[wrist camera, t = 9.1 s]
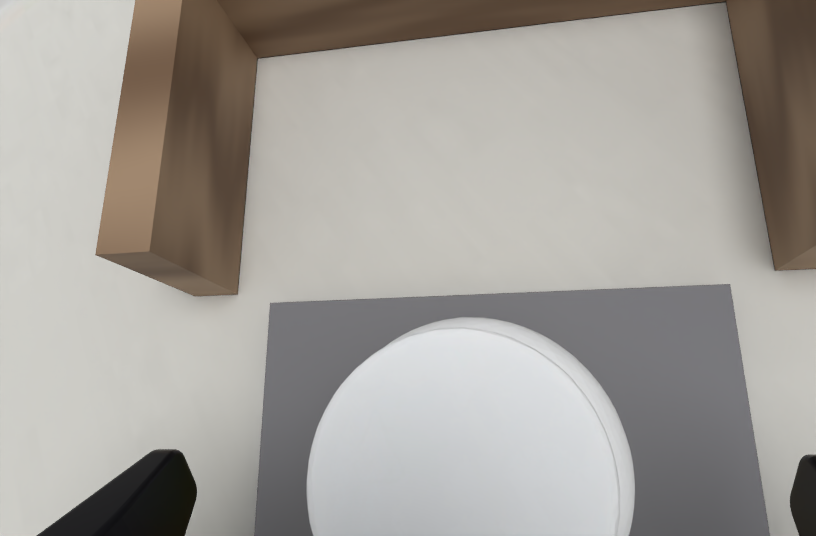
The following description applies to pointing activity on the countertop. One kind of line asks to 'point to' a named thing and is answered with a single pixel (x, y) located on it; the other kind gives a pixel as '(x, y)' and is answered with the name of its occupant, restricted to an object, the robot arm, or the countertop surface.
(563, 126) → the countertop surface
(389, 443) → the supplement bottle
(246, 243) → the countertop surface
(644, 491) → the mat
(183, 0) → the brown walled open frame
